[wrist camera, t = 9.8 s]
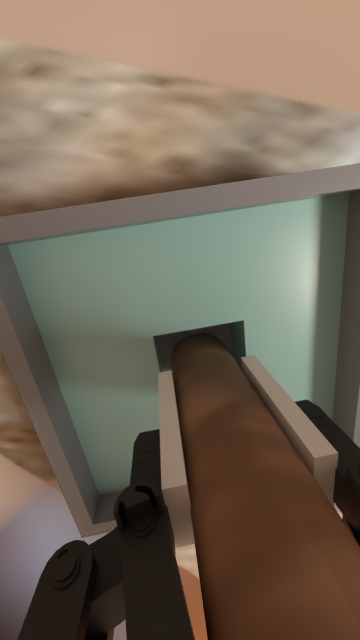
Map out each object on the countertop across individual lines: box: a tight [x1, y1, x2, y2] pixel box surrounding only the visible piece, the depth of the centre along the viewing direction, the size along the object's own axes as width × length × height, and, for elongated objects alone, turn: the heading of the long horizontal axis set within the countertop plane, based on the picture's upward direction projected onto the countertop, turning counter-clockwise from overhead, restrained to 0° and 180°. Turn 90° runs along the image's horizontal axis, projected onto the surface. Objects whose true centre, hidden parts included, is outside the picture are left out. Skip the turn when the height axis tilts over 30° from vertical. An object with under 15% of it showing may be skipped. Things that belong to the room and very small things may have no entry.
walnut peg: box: [171, 333, 360, 640], centre depth 10 cm, size 4×4×14 cm
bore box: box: [0, 163, 360, 538], centre depth 16 cm, size 20×20×6 cm
